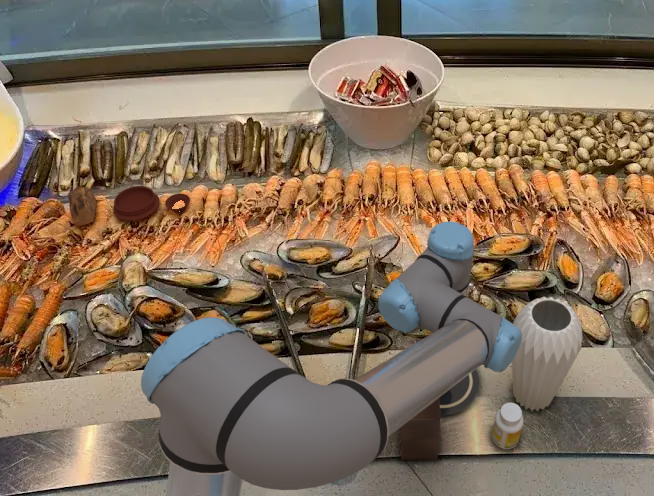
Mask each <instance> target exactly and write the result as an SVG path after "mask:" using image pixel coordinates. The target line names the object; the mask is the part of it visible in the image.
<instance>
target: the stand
mask: <svg viewBox="0 0 654 496" xmlns="http://www.w3.org/2000/svg"><path fill="white" fill-rule="evenodd" d="M441 417H442V416H440V397H439V398H438V399H437V400H435V401H434V402H433V403H431V404H430V405H429V406H428V407H426V408H425V409H424V410H422V411H421V412H420V413H419V414H417V415H416V416H415V417H413V418H412V419H411V420H410V421H408V422H407V423H406V424H404V425H403V426H402V427H400V460H401V461H433V460H434V461H437V460H438V459H439V448H440V433H441V421H442V420H441Z"/></svg>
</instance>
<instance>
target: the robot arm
mask: <svg viewBox="0 0 654 496" xmlns="http://www.w3.org/2000/svg"><path fill="white" fill-rule="evenodd" d="M427 238H428V239H427V242H426V244H427V247H426V249H424V250H423V251H422V252H421V253H420V254H419V256H418V257H417V258H416V259H415V260H414V261H413V262H412V264H411V265H409V266H408V267H407V268H406V269H405V270H404V271H403V272H401V273H400V274H399V275H398V276H396V278H394V279H393V280H392V281H391V282H390V283H389V284H388V286H386V288H385V289H384V290H383V291H382V293H381V294H380V295H379V297H378V300H377V305H378V311H379V313H380V315H381V317H382V318H383V320H384V321H385V323H387V325H389V326H390V327H392V329H394V330H396V331H398V332H402V333H405V334H407V333H411V332H412V331H413V330H415V329H417V328H419V326H420V327H421V328H423V329H425V330H426V331H428V332H430V333H431V334H429V335H426V336H425V337H424V338H422V339H421V340H419V341H417V342H415V343H414V344H412V345H410V346H409V347H407V348H405V349H403V350H402V351H400V352H398V353H397V354H395V355H393V356H392V357H390V358H388V359H386V360H385V361H383V362H381V363H380V364H378V365H376V366H374V367H373V368H372V369H369V370H368V371H366V372H365V373H362V374H361V375H359V376H358V377H356V378H354V379H352V378H348V377H347V378H345V377H344V378H338V379H336V380H333V381H331V382H330V383H328V384H326V385H325V384H319V383H316V382H314V381H313V382H312V381H311V380H309V379H308V378H306V377H304V376H303V375H301V374H300V373H299V372H297V371H296V370H295V369H293V368H292V367H291V366H289V365H288V364H287V363H285V362H284V361H282V360H281V359H280V358H278V357H277V356H276V355H274V354H273V353H271V352H270V351H268V349H266V348H264V347H263V346H262V345H260V344H259V343H257V342H256V341H254V339H252V338H251V337H249V336H248V335H247V334H246V332H245V330H244V329H242V328H240V327H236V326H235V325H233V324H231V322H228V321H226V320H225V319H223V318H219V317H214V316H213V317H211V316H208V317H203V318H199V319H196V320H193V321H191V322H189V323H186V324H185V325H183V326H181V327H180V328H179V329H177V330H176V331H174V332H173V333H172V334H171V335H169V336H168V337H167V338H166V339H165V340H164V342H162V343H161V344H160V345H159V346H158V347H157V348H156V350H155V351H154V352H153V354H152V355H151V357H150V358H149V359H148V361H147V362H146V364H145V367H144V369H143V372H142V374H141V378H140V388H141V392H142V393H143V395H144V396H145V397H146V401H147V402H148V403H149V404H152V405H155V406H156V407H157V408H158V410H159V413H160V416H159V417H160V418H159V429H158V444H159V448H160V450H161V453H162V454H163V456H164V457H165V459H166V460H168V462H169V468H168V476H167V484H166V485H167V486H166V494H165V496H241V492H242V485H243V482H244V481H245V482H246V483H248V484H249V485H252V486H255V487H259V488H263V489H268V490H277V491H298V490H306V489H312V488H318V487H321V486H326V485H329V484H332V483H335V482H338V481H340V480H343V479H346V478H348V477H351V476H353V475H354V474H356V473H359V471H362V470H363V469H364V468H366V467H367V466H368V465H370V464H371V463H372V462H373V461H375V460H376V459H377V458H379V457H380V456H381V455H382V454H383V452H385V450H386V447H387V445H388V442H389V437H391V436H392V435H393V434H394V433H395V432H397V431H398V430H399V429H401V427H402V426H403V425H404V424H406V423H407V422H408V421H410V420H411V419H412V418H413V417H415V416H416V415H417V414H419V413H420V412H421V411H422V410H424V409H425V408H426V407H428V406H429V405H430V404H431V403H433V402H434V401H435V400H437V399H438V398H439V397H440V396H442V395H443V394H444V393H446V392H447V391H448V390H450V389H451V388H452V387H453V386H455V385H456V384H457V383H459V382H460V381H461V380H462V379H464V378H465V377H466V376H468V375H469V374H470V373H471V372H473V371H474V370H475V369H476V370H477V369H478V368H480V367H481V366H484V368H485V369H489V370H491V371H492V372H495V373H502V372H504V371H505V370H506V369H507V368H508V367H509V366H510V365H511V364H512V360H513V359H514V357H515V355H516V354H517V351H518V349H519V347H520V344H521V341H522V332H521V330H520V329H519V328H518V327H517V326H515V325H514V324H513V322H511V321H509V320H508V319H506V318H505V317H504V316H503V315H499V314H498V313H496V312H494V311H492V310H491V309H489V308H488V307H485V306H484V305H482V304H480V303H478V302H476V301H475V300H473V299H471V298H470V297H469V294H470V289H473V288H474V284H473V282H471V272H472V265H473V259H474V255H475V249H474V240H475V239H474V235H473V233H472V231H471V229H470V228H469V227H468V226H466V225H464V224H462V223H460V222H456V221H449V220H448V221H442V222H439V223H437V224H435V225H434V226H433V227H432V228H431V229H430V231H429V234H428V237H427Z"/></svg>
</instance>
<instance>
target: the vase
mask: <svg viewBox="0 0 654 496" xmlns="http://www.w3.org/2000/svg"><path fill="white" fill-rule="evenodd" d="M578 316H579V315H577V313H576V311H575V310H574V309H573V307H572V306H570V305H569V304H568V302H567V301H562V300H561V298H556V299H554V297H553V296H549V297H546V296H542V297H540V298H535V299H533V300H531V301H530V302H527V303H526V305H525V306H524V307H522V308H521V309H520V310H519V312H518V314H517V315H516V316H515V318H514V319H513V321H512V324H514V325H515V326H517V327H518V328H519V329H520V330H521V332H522V341H521V344H520V347H519V349H518V351H517V354H516V355H515V357H514V359H513V360H512V362H511V375H512V377H511V378H512V392H513V393H512V394H513V397H514V398H515V402H516V403H520V404H519V407H524V409H525V410H530V411H531V412H533V411H534V410H535V411H537V412H539V410H540V409H541V410H543V411H544V410H545V408H546V407H549V406H550V404H551V403H552V401H553V400H554V397H555V396H556V394H557V393H558V391H559V389H560V387H561V386H562V384H563V382H564V380H565V378H566V377H567V375H568V374H569V371H570V369H571V368H572V366H573V364H574V362H575V361H576V359H577V357H578V355H579V353H580V352H581V350H582V342H583V340H584V339H583V327H582V324H581V322H580V320H579V317H578Z"/></svg>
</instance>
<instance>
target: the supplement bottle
mask: <svg viewBox="0 0 654 496" xmlns="http://www.w3.org/2000/svg"><path fill="white" fill-rule="evenodd" d="M523 426H524V416H523V412H522V408H521V406H520V405H518V404H517V403H514V402H506V403H503V405H501V407H500V409H499V410H497V412H496V414H495V417H494V422H493V427H492V431H491V439H492V441H493V443H494V445H496V446H497V447H498V448H500V449H503V450H511V449H514V448H516V446H517V445H518V443H519V441H520V437H521V434H522V429H523Z"/></svg>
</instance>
